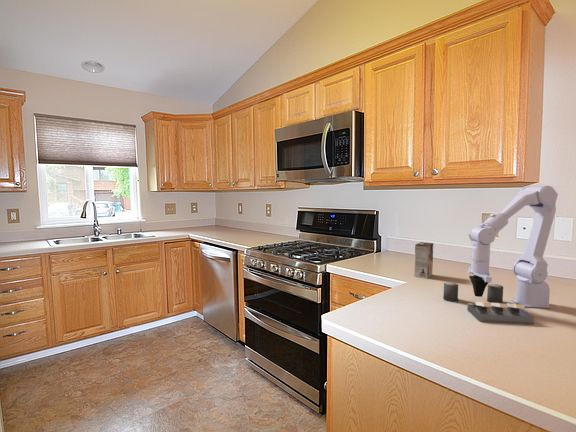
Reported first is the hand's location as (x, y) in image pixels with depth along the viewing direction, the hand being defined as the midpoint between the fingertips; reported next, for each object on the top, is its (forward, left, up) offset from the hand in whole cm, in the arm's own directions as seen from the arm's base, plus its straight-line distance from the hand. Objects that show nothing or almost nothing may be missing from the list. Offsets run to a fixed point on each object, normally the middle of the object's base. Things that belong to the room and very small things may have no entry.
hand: (478, 296), depth 121 cm
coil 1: (+8, -5, -3) cm, 10 cm away
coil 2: (-8, -5, -3) cm, 10 cm away
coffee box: (+9, -40, -4) cm, 41 cm away
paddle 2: (-7, +11, +1) cm, 13 cm away
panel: (-2, +11, -3) cm, 12 cm away
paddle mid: (-2, +11, +1) cm, 11 cm away
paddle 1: (+3, +11, +1) cm, 12 cm away
